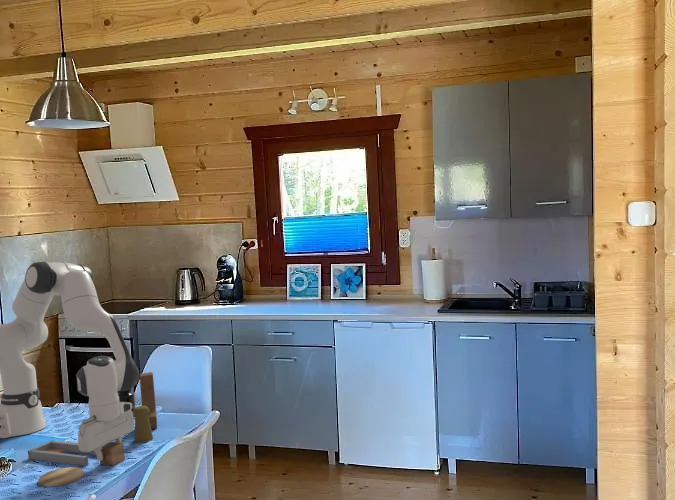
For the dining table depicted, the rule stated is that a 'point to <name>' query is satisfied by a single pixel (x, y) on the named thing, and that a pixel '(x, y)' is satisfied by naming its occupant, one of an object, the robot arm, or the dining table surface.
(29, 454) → the channel
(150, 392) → the wooden block
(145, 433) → the pepper shaker
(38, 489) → the dining table surface
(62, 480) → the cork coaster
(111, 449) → the walnut block
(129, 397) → the supplement bottle
